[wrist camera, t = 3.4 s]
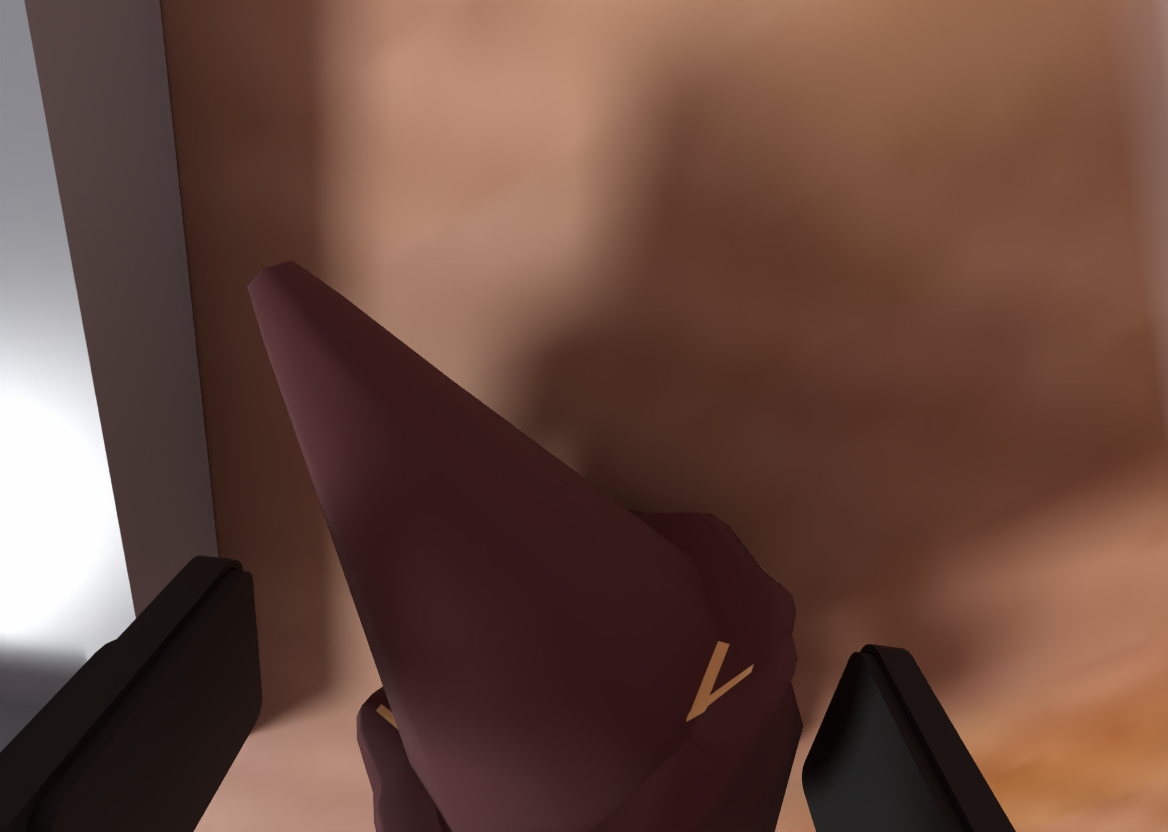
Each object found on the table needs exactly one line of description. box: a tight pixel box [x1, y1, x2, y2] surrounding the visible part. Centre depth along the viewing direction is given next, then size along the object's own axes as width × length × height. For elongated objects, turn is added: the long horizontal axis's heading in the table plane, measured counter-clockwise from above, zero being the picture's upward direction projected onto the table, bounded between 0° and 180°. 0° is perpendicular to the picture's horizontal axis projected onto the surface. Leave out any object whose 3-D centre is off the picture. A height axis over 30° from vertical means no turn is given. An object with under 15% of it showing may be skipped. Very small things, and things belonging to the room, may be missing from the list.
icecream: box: [247, 261, 803, 832], centre depth 10 cm, size 7×7×15 cm
